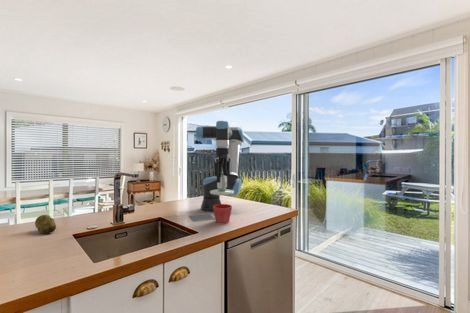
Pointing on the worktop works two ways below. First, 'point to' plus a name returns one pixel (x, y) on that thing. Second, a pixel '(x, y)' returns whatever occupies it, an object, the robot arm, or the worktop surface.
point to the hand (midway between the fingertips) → (222, 187)
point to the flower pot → (222, 213)
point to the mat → (201, 217)
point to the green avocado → (45, 224)
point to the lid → (222, 190)
